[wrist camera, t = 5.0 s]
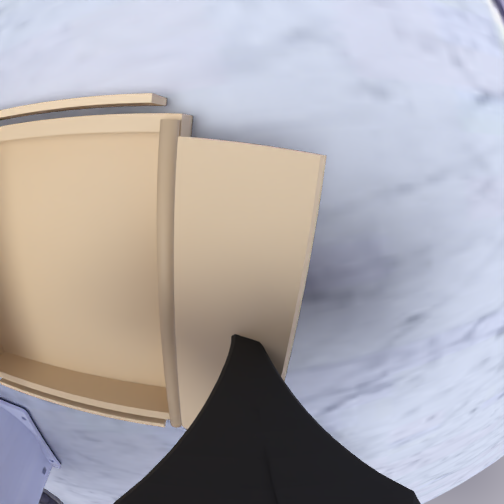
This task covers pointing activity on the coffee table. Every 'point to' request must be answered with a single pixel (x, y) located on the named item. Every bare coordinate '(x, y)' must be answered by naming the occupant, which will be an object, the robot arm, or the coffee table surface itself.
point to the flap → (238, 254)
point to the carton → (91, 257)
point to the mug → (48, 498)
